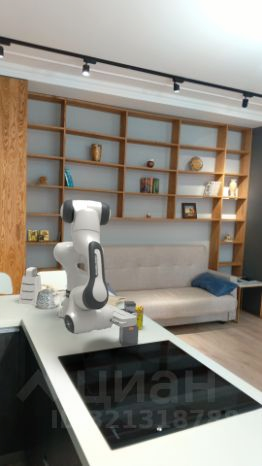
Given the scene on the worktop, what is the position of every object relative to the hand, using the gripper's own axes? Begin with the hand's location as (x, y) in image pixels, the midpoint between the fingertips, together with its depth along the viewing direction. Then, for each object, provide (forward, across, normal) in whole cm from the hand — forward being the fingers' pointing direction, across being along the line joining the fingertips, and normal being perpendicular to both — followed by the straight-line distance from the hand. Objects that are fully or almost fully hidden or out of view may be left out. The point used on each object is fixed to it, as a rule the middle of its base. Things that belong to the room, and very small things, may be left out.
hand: (131, 312), depth 149 cm
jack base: (-1, 0, +14) cm, 14 cm away
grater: (-11, +81, +14) cm, 83 cm away
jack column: (-1, 0, +13) cm, 13 cm away
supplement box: (+14, +13, +14) cm, 24 cm away
